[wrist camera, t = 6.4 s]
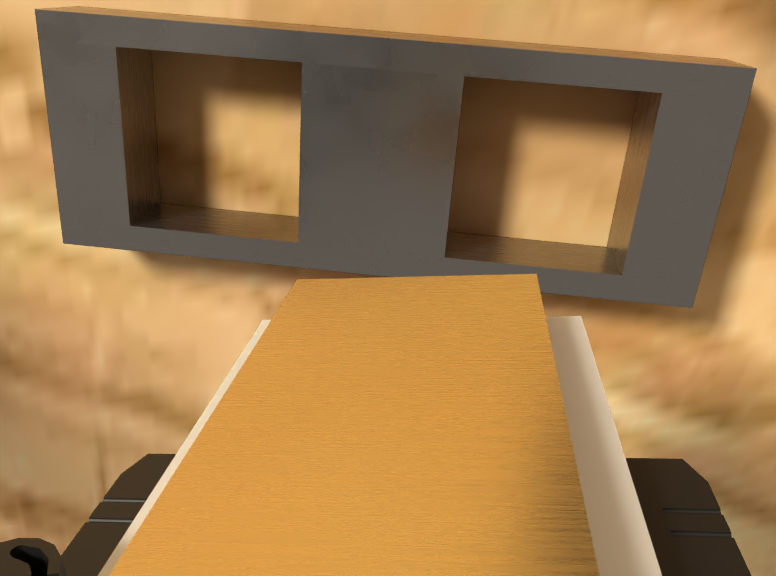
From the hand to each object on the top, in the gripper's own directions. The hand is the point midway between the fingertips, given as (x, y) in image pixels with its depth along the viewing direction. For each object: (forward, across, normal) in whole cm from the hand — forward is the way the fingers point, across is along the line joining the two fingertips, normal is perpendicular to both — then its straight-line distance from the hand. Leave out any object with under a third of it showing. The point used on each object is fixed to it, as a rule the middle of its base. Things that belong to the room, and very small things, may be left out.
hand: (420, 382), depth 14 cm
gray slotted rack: (+16, -2, +2) cm, 16 cm away
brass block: (0, 0, 0) cm, 0 cm away
